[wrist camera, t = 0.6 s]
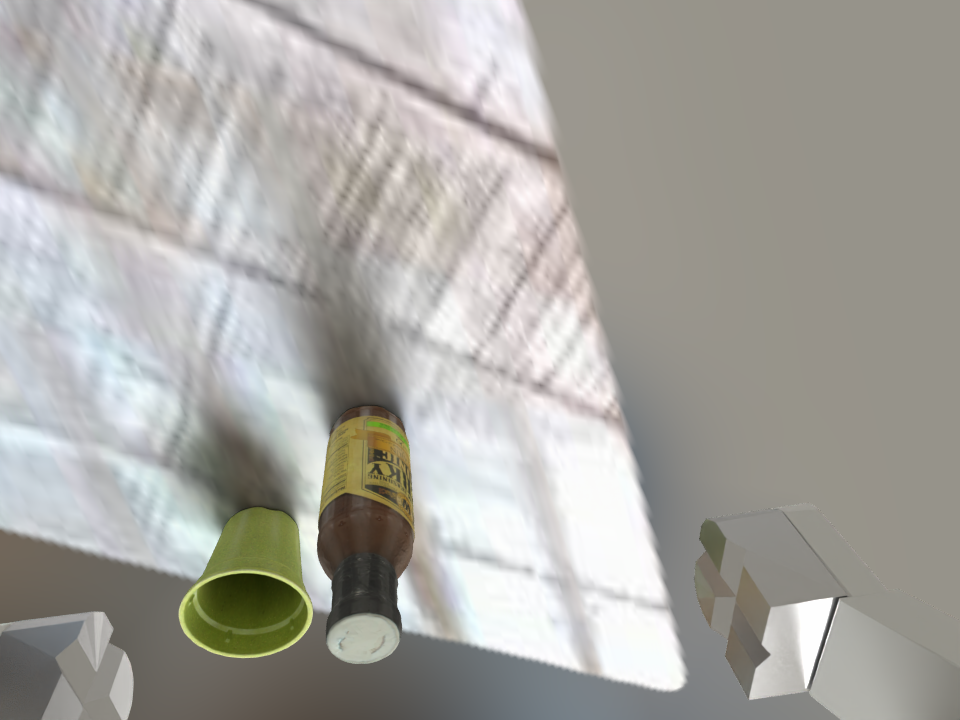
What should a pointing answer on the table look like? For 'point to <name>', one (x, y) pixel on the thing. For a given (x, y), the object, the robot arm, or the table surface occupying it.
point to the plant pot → (250, 589)
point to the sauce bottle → (365, 531)
